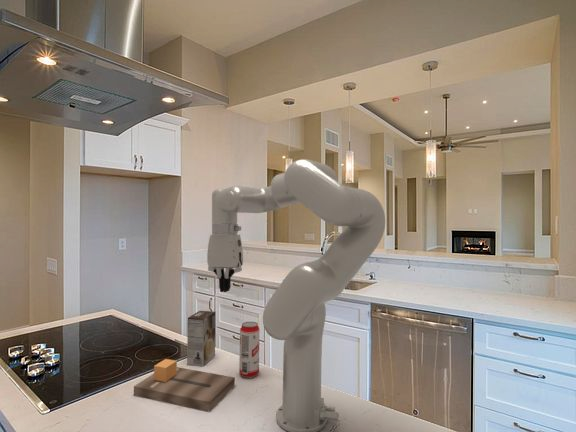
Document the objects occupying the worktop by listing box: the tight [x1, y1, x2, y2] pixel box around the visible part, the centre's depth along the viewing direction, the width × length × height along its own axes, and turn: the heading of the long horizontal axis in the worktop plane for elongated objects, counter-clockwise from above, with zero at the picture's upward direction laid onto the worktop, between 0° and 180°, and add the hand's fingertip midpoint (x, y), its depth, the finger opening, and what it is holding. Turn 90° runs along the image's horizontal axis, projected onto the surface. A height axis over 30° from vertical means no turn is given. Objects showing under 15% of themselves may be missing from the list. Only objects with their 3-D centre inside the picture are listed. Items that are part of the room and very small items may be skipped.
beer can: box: [238, 321, 261, 379], centre depth 105 cm, size 6×6×16 cm
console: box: [133, 366, 236, 413], centre depth 94 cm, size 24×14×3 cm, turn 72°
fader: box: [153, 358, 178, 382], centre depth 96 cm, size 4×5×4 cm
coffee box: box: [186, 310, 216, 367], centre depth 115 cm, size 9×6×16 cm
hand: (224, 291), depth 99 cm, fingers closed
